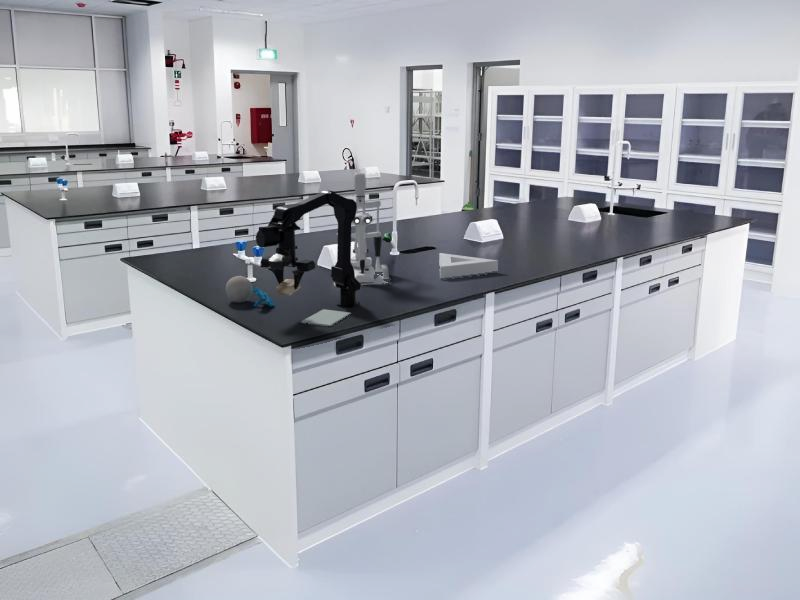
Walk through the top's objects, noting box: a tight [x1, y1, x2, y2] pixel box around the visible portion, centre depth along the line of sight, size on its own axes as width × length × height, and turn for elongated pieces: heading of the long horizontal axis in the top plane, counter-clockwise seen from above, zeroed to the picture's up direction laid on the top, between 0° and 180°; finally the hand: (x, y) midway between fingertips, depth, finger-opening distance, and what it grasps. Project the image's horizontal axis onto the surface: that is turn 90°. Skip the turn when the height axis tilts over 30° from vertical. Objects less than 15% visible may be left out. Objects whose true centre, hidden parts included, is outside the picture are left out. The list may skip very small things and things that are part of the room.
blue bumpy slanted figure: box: [253, 286, 275, 308], centre depth 256 cm, size 11×6×10 cm
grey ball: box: [225, 275, 254, 303], centre depth 261 cm, size 10×10×10 cm
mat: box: [301, 308, 352, 328], centre depth 243 cm, size 16×11×1 cm
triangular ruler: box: [438, 252, 499, 279], centre depth 313 cm, size 30×26×6 cm
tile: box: [275, 278, 301, 296], centre depth 240 cm, size 5×10×3 cm, turn 169°
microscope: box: [333, 172, 390, 288], centre depth 294 cm, size 24×27×45 cm
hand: (288, 288), depth 241 cm, fingers closed on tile, 5 cm apart
